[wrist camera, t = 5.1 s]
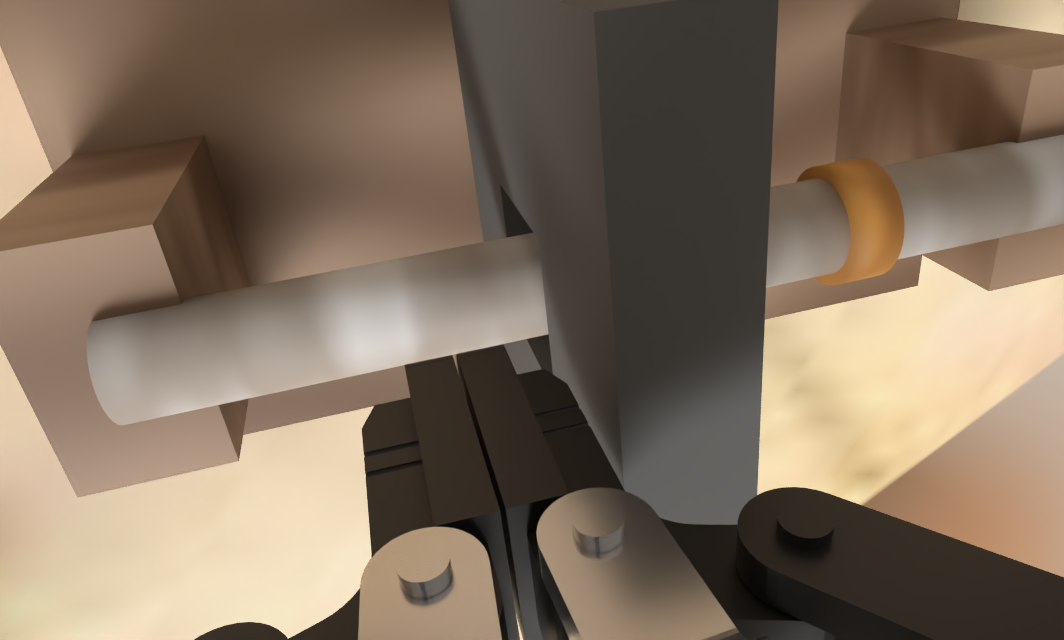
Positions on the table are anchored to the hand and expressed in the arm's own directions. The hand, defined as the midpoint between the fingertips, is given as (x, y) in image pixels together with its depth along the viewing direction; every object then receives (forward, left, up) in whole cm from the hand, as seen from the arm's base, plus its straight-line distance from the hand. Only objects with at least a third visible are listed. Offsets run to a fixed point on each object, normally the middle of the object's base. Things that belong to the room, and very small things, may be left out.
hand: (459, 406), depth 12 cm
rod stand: (0, +4, -12) cm, 12 cm away
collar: (0, +3, -9) cm, 9 cm away
